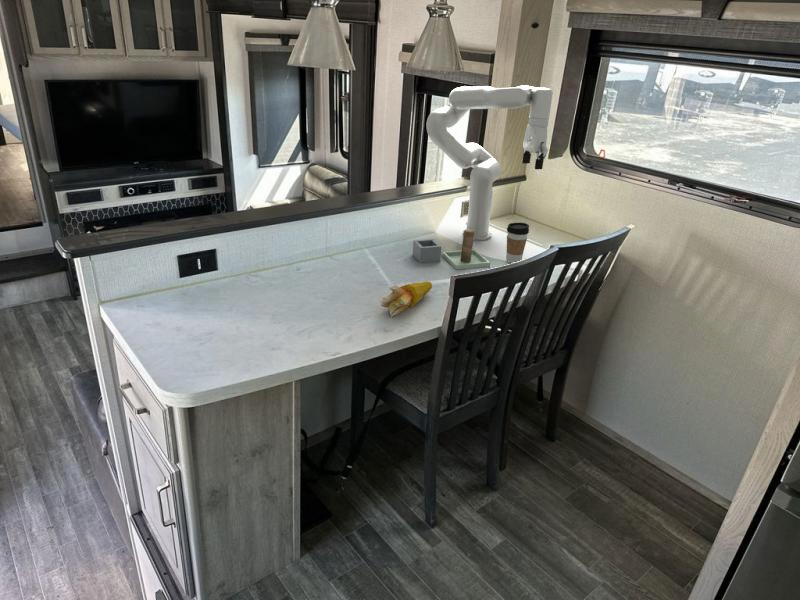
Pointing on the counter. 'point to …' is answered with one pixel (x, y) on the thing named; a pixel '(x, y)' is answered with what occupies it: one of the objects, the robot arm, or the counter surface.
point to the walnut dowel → (467, 246)
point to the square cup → (426, 250)
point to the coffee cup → (516, 241)
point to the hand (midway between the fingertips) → (532, 166)
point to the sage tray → (454, 260)
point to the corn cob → (405, 296)
